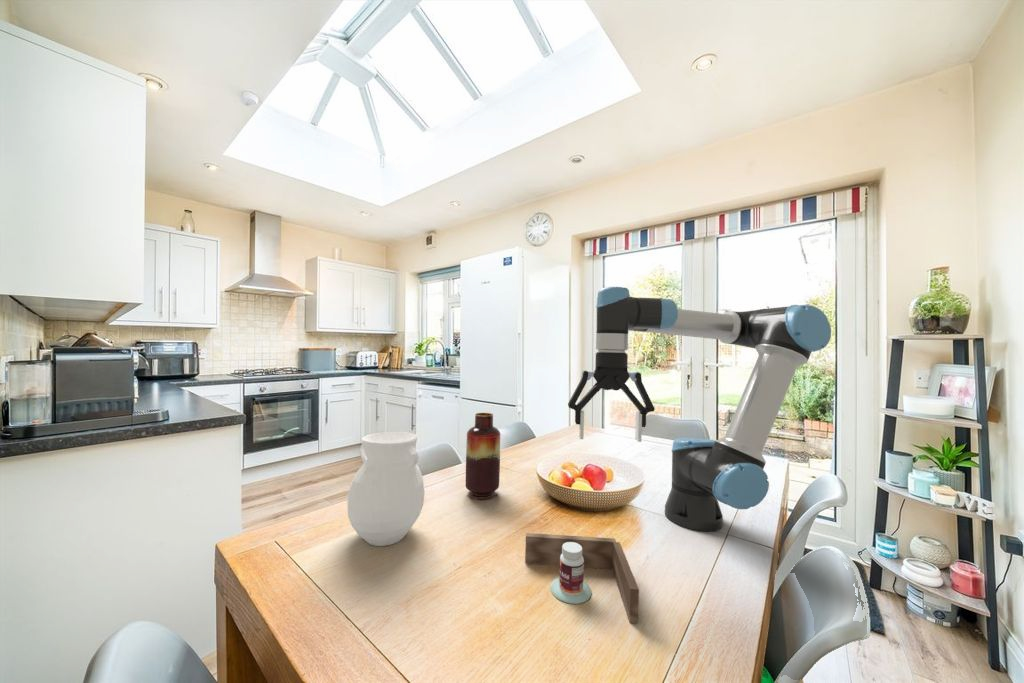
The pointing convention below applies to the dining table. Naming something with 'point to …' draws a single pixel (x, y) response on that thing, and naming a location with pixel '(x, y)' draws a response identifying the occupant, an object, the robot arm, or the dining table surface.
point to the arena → (589, 561)
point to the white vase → (386, 488)
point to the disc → (567, 598)
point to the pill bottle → (571, 569)
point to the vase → (483, 458)
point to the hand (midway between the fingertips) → (609, 439)
